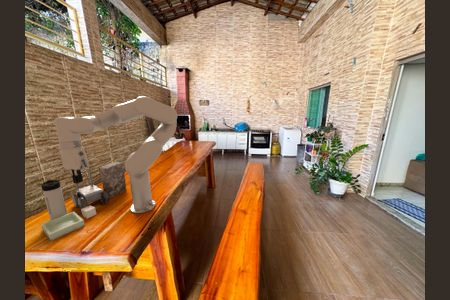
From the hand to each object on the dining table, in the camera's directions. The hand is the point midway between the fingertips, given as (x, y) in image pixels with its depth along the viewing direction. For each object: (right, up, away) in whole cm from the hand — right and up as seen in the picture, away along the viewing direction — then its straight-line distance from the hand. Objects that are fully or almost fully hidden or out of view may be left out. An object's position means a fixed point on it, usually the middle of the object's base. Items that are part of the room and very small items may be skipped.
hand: (78, 182), depth 81 cm
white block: (-1, -19, +7) cm, 20 cm away
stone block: (-2, -13, +31) cm, 34 cm away
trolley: (-7, -16, +17) cm, 25 cm away
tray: (-5, -21, -2) cm, 21 cm away
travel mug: (-13, -19, +5) cm, 24 cm away
